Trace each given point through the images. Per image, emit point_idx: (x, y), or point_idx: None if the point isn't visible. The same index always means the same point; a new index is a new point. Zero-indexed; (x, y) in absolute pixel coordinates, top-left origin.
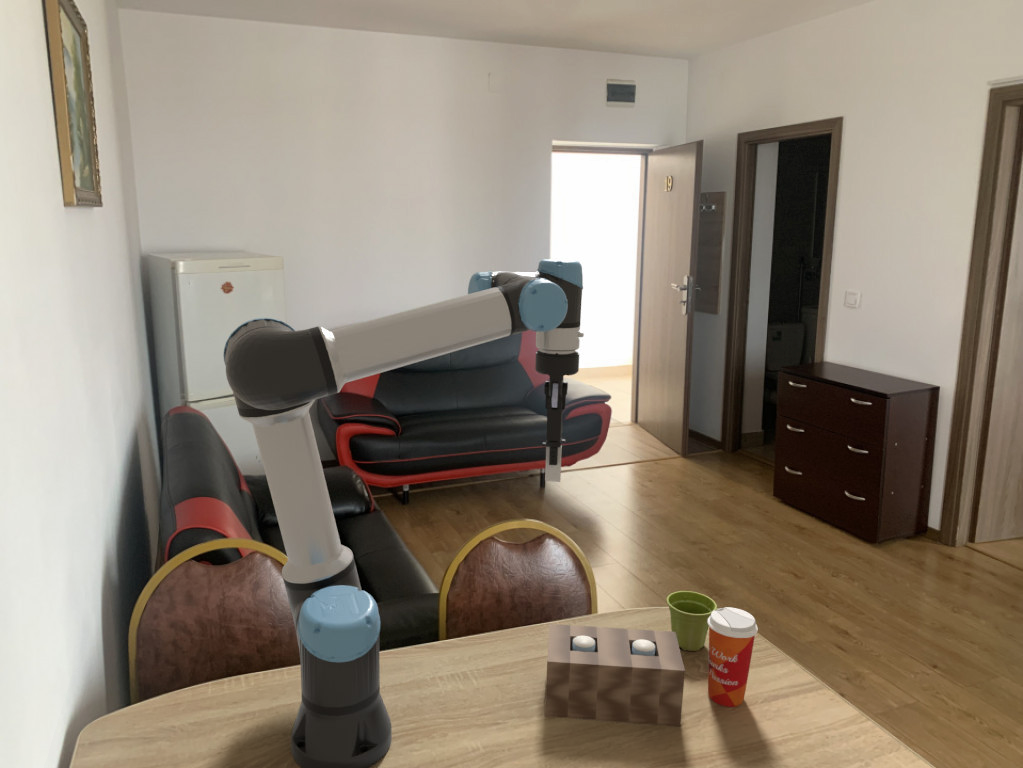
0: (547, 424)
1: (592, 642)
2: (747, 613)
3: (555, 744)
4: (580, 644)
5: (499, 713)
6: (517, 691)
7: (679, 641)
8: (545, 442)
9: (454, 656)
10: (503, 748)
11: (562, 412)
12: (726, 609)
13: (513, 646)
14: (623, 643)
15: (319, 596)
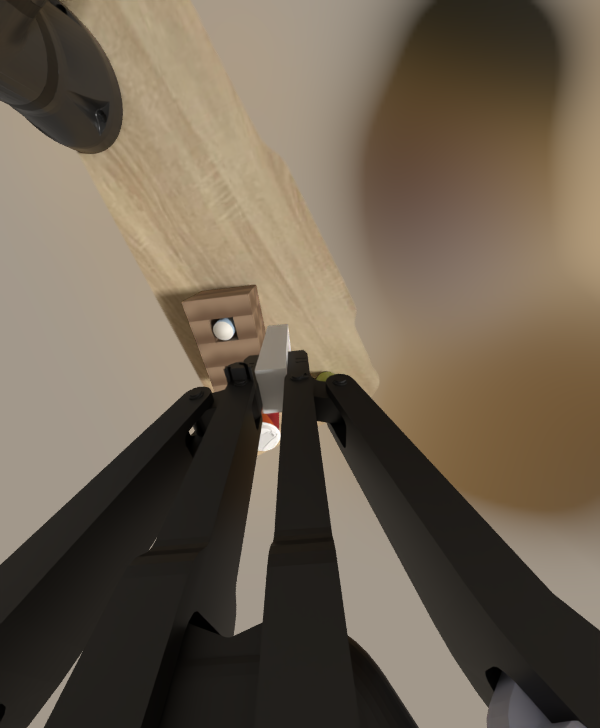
0: (97, 478)
1: (224, 338)
2: (271, 447)
3: (175, 303)
4: (216, 328)
5: (189, 252)
6: (224, 262)
7: (317, 378)
8: (250, 375)
9: (257, 179)
10: (151, 265)
11: (372, 508)
12: (273, 437)
13: (291, 244)
14: (237, 360)
15: None
